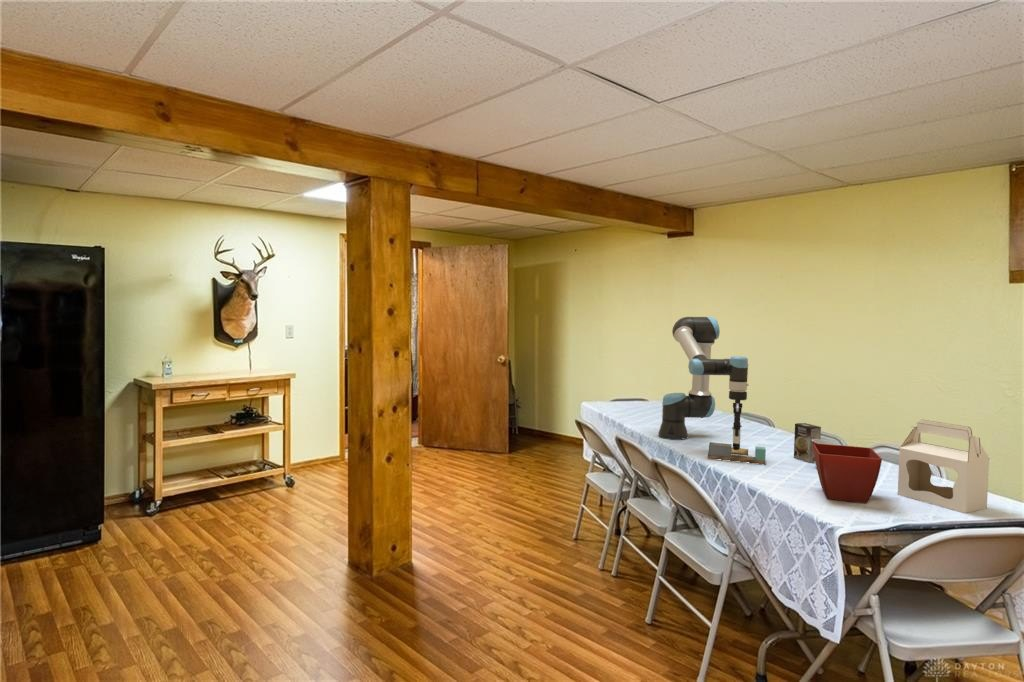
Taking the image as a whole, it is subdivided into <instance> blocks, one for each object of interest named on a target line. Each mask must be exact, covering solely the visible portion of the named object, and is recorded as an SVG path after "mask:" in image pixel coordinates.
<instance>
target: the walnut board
mask: <svg viewBox="0 0 1024 682" xmlns="http://www.w3.org/2000/svg"><path fill="white" fill-rule="evenodd" d="M706 457H707V458H708V459H707V460H713V459H721V460H720V461H723V460H730V461H729V462H733V461H740V462H739V463H743V462H749V463H748V464H752V463H759V464H758V465H762V464H765V465H766V460H765V461H761V460H755V456H750V455H748V456H745V455H735V454H731V457H721V456H711V455H709V451H708V452H707V456H706Z"/></svg>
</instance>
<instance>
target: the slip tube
mask: <svg viewBox="0 0 1024 682" xmlns="http://www.w3.org/2000/svg"><path fill="white" fill-rule="evenodd" d="M741 423H742V422H740V429H741V428H742V427H741V426H742V425H741ZM732 427H734V421H733V426H732ZM733 433H734V429H732V434H733ZM731 455H741V456H749V448H743V447H741V443H740V444H737V443H733V442H732V448H731Z"/></svg>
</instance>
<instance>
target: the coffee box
mask: <svg viewBox="0 0 1024 682" xmlns="http://www.w3.org/2000/svg"><path fill="white" fill-rule="evenodd" d="M821 434H822V427H821V426H819V425H815V424H810V423H806V422H802V423H801V422H798V423H797V422H796V423H795V424H794V440H793V441H794V442H793V445H794V446H793V458H794V459H796V460H800V461H802V462H806V463H816V461H815V455H814V448H813V443H812V439H819V440H821Z"/></svg>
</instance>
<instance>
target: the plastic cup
mask: <svg viewBox="0 0 1024 682" xmlns="http://www.w3.org/2000/svg"><path fill="white" fill-rule="evenodd" d="M812 443H813V444H829V445H841V444H840V442H839V443H838V442H836V441H831V440H826V439H820V440H819V439H812ZM813 448H814V447H813Z"/></svg>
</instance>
